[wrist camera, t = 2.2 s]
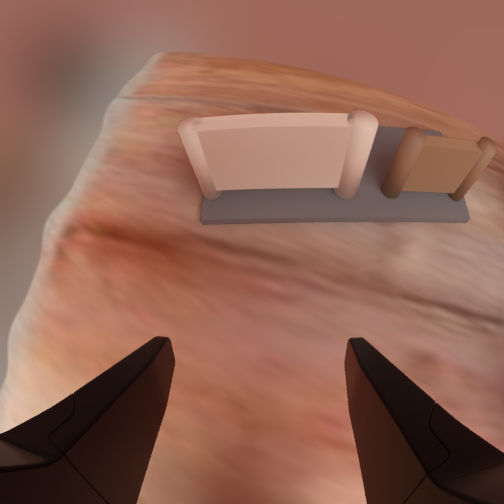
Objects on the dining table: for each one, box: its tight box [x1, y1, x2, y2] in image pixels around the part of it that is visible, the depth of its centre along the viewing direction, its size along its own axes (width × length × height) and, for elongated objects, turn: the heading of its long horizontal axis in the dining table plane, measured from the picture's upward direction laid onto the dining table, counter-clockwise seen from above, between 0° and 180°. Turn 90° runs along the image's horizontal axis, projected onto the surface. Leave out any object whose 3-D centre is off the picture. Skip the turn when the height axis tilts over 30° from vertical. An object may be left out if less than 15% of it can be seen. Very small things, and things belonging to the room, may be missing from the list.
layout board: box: [201, 126, 497, 225], centre depth 23 cm, size 23×10×8 cm, turn 89°
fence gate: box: [177, 110, 378, 200], centre depth 22 cm, size 12×2×8 cm, turn 89°
